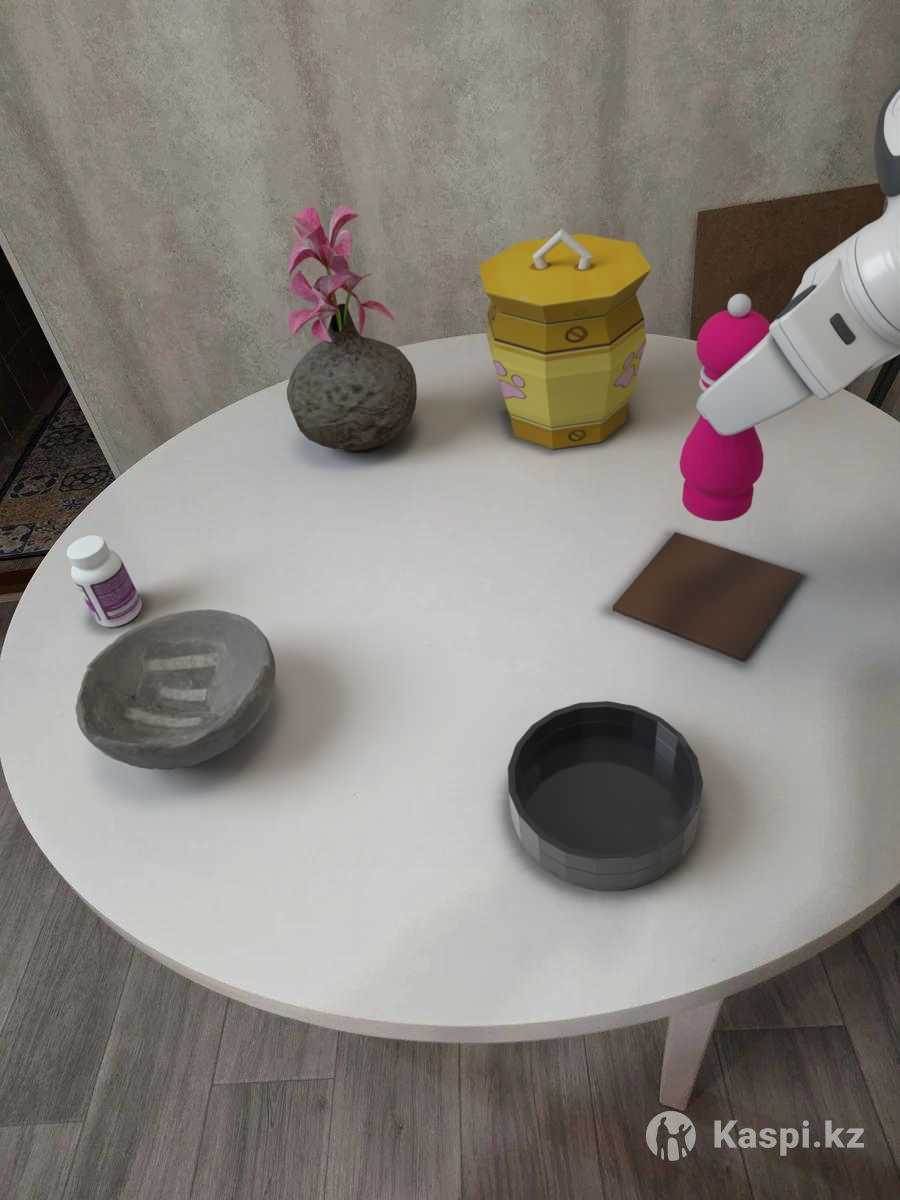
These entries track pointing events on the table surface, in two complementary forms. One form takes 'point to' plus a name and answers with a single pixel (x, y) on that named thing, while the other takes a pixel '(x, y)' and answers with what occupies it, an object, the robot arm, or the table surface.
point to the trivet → (708, 595)
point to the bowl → (177, 689)
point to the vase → (343, 352)
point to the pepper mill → (708, 458)
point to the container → (566, 335)
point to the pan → (604, 795)
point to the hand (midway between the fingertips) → (722, 392)
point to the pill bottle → (103, 581)
